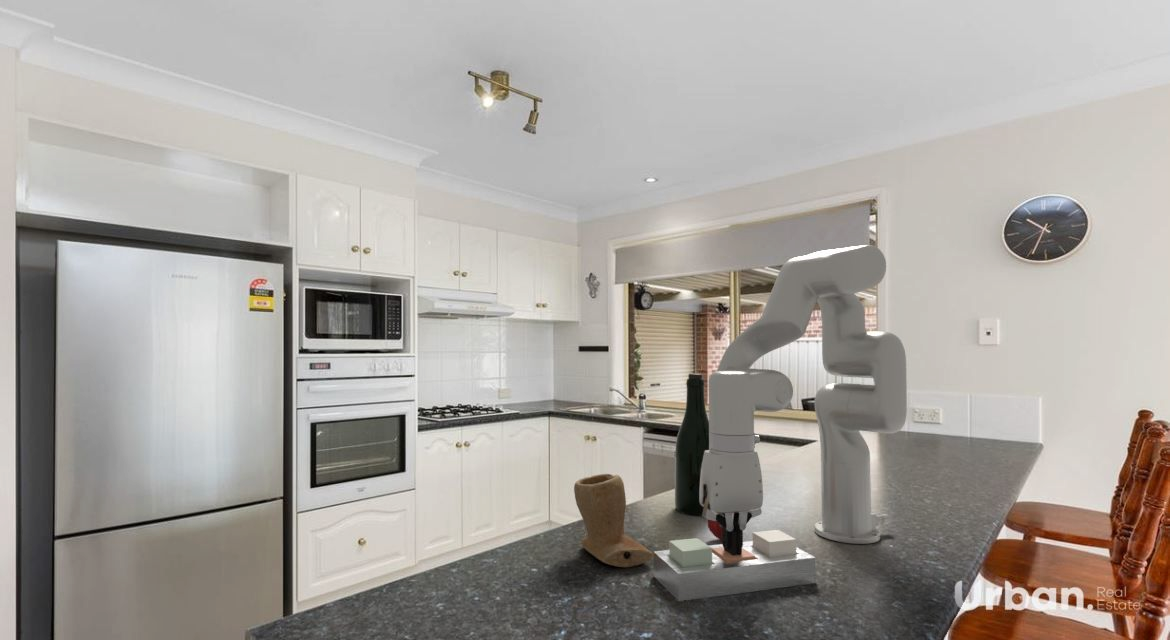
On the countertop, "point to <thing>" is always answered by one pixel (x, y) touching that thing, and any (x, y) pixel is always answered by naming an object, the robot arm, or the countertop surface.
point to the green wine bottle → (691, 448)
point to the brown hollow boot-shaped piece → (607, 521)
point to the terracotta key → (732, 558)
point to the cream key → (774, 543)
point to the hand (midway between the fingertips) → (732, 552)
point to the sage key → (690, 552)
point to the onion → (715, 529)
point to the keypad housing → (733, 574)
